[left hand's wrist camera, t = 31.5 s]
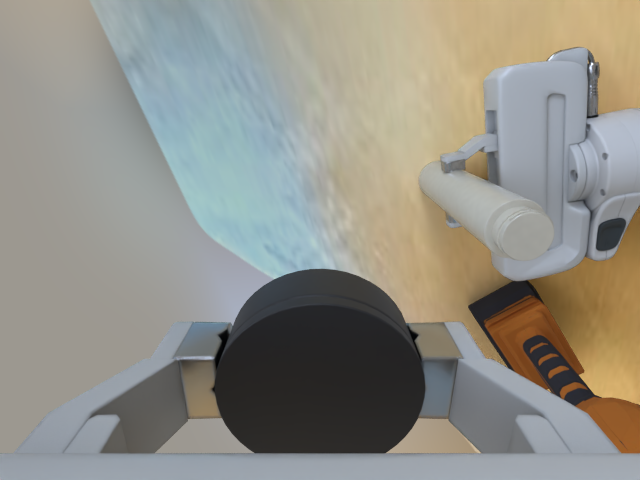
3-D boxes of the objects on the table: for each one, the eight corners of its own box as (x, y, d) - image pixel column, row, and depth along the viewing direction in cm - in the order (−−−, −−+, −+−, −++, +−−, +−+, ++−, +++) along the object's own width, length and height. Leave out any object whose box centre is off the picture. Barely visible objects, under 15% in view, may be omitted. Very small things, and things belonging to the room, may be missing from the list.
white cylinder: (463, 181, 41) (574, 240, 23) (432, 204, 42) (516, 280, 24) (442, 152, 40) (541, 191, 22) (411, 177, 41) (481, 234, 23)
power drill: (583, 379, 50) (813, 625, 26) (532, 404, 51) (706, 657, 28) (511, 259, 44) (724, 436, 21) (455, 291, 46) (595, 491, 22)
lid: (444, 350, 10) (468, 399, 8) (317, 440, 11) (316, 499, 10) (323, 229, 9) (324, 259, 7) (195, 344, 10) (170, 392, 8)
